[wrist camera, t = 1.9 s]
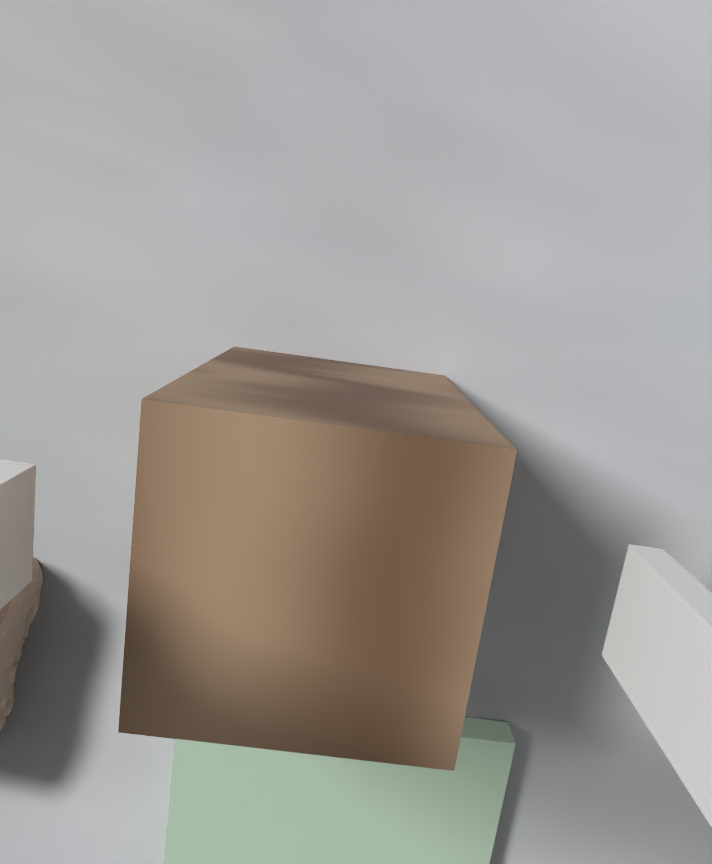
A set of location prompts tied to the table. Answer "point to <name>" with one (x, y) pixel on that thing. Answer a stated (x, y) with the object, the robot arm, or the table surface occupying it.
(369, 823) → the pad
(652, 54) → the table surface
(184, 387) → the walnut block
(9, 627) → the brick
